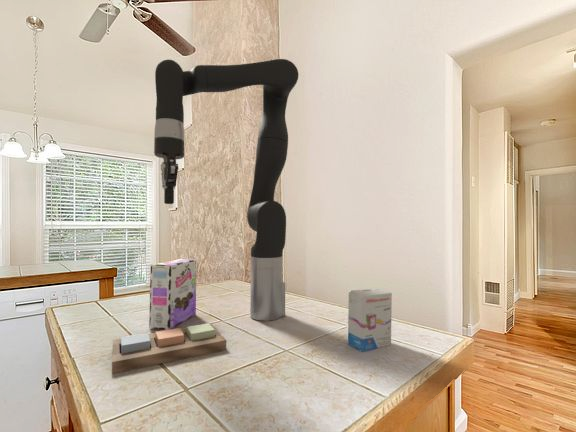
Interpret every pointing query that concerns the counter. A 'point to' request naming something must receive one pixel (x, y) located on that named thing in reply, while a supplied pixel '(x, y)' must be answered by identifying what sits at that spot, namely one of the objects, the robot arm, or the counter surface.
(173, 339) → the terracotta tile
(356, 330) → the ink box
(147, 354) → the button board
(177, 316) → the candy box
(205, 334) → the sage tile
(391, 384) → the counter surface
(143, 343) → the squat grey square block
